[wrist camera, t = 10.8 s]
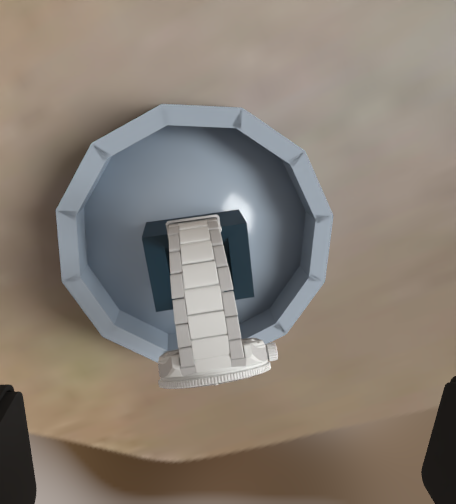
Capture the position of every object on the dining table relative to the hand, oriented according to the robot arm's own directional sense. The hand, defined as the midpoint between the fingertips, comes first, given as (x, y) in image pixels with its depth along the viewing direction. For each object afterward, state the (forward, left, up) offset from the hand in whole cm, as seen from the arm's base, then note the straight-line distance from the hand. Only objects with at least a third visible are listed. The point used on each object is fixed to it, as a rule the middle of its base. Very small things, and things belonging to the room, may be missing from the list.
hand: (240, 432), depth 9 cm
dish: (+1, 0, -18) cm, 18 cm away
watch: (+2, 0, -17) cm, 17 cm away
